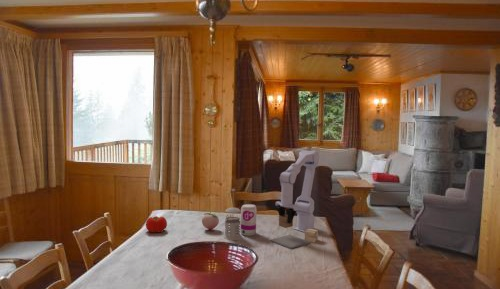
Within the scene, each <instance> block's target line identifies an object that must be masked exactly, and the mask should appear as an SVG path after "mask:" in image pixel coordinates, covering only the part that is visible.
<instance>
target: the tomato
mask: <svg viewBox="0 0 500 289" xmlns="http://www.w3.org/2000/svg"><path fill="white" fill-rule="evenodd" d="M167 226H168V222H167V219H166V218H165V217H164V216H160V217H159V216H157V215H156V216H151V217H148V219H146V221H145V228H146V230H148V231H149V232H151V233H161V232H163V231H164V230H165V229H166V228H167Z"/></svg>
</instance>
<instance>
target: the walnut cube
mask: <svg viewBox="0 0 500 289" xmlns="http://www.w3.org/2000/svg"><path fill="white" fill-rule="evenodd" d="M278 226H279V227H281V228H285V229H288V228H291V227H294V220H293V221H292V223H288V214H285V215H282V216H279V215H278Z"/></svg>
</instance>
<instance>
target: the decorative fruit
mask: <svg viewBox="0 0 500 289" xmlns="http://www.w3.org/2000/svg"><path fill="white" fill-rule="evenodd" d="M201 223H202V224H201V225H202V226H203V227H204V228H205V229H207V230H209V231H211V230H213V229H215V228H216V227H217V226H218V225H219V223H220V218H219V217H218V216H217V214H215V213H211V211H210V212H204V213H203V217H202V218H201Z"/></svg>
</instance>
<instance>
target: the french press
mask: <svg viewBox="0 0 500 289" xmlns="http://www.w3.org/2000/svg"><path fill="white" fill-rule="evenodd" d="M231 192H232V195H233V196H232V202H233V204H234V199H235V198H234V197H235V196H234V195H235V192H236V188H232V189H231ZM224 211H225V213H227V215H226V216H225V219H224V220H225V221H224V226H225V228H224V235H223V236H222V238H223V239H224V240H227V241H228V240H229V241H237V240H238V241H239V240H241V239H242V238H243V237H242V234H241V217H238V216H232V215H228V214H240V213H241V208H240V209H239V208H238V207H234V206H232V207H231V206H230V207H228V208H227V209H225V210H224Z"/></svg>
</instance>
